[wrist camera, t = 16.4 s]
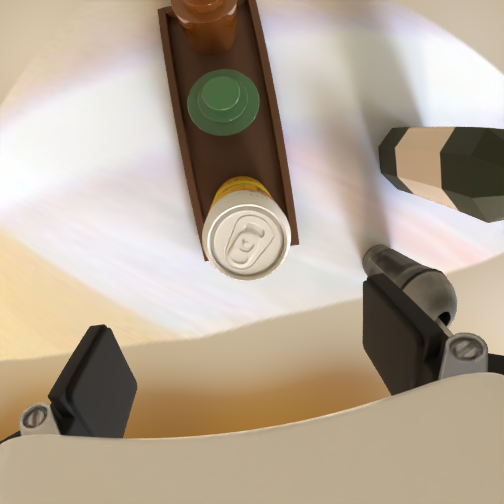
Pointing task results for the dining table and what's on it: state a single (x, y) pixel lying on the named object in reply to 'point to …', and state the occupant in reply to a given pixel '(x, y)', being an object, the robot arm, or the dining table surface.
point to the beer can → (245, 231)
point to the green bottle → (223, 103)
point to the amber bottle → (208, 24)
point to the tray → (237, 149)
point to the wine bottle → (449, 167)
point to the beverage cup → (416, 283)
